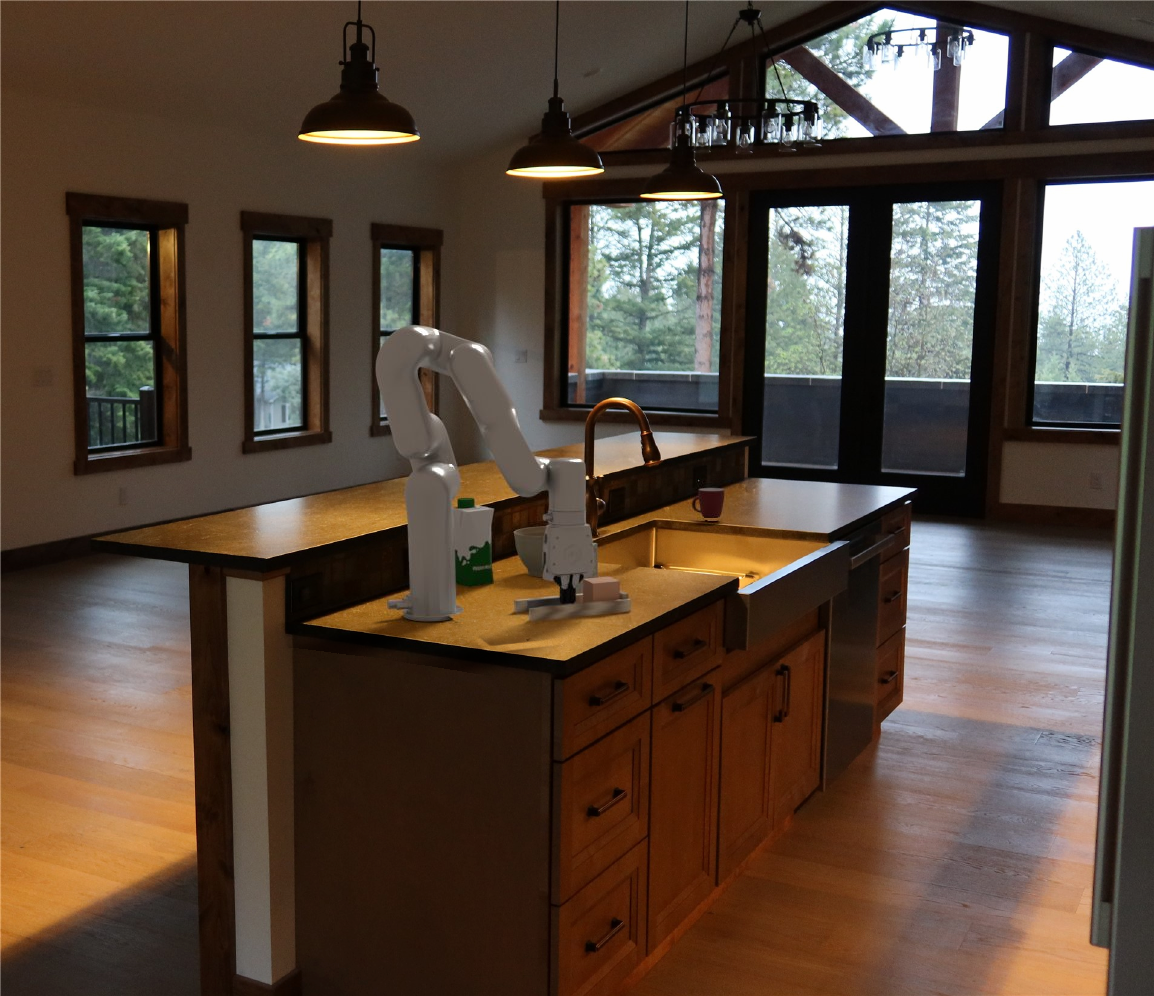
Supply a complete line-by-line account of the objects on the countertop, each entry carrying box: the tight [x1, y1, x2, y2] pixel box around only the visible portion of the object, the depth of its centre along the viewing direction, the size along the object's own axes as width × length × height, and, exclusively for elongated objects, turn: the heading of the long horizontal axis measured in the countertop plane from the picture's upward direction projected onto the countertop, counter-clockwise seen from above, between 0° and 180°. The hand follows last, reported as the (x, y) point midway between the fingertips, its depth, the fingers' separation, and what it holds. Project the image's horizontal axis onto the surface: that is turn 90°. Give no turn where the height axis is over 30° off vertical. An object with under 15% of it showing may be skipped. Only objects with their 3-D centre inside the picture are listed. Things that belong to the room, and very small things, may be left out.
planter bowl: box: [513, 525, 547, 578], centre depth 296 cm, size 16×16×11 cm
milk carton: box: [452, 497, 495, 588], centre depth 285 cm, size 9×9×20 cm
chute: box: [513, 589, 632, 622], centre depth 250 cm, size 22×10×4 cm, turn 113°
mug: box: [691, 487, 725, 519], centre depth 382 cm, size 11×8×10 cm
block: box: [583, 576, 621, 603], centre depth 253 cm, size 6×5×6 cm
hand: (567, 606), depth 250 cm, fingers closed
